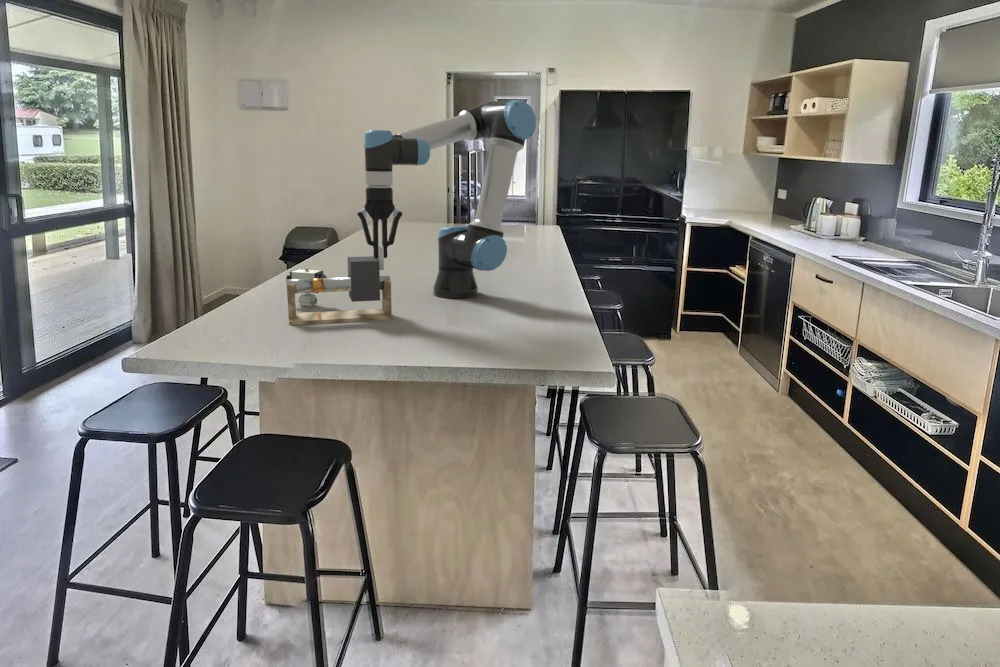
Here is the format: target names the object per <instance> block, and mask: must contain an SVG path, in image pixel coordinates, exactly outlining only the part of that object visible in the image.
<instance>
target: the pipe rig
mask: <svg viewBox="0 0 1000 667" xmlns="http://www.w3.org/2000/svg"><path fill="white" fill-rule="evenodd" d="M286 282H287V281H286ZM286 293H287V294H286V295H287V298H286V299H287V312H288V313H287V316H288V325H289V326H296V325H297V326H299V325H300V326H301V325H315V324H318V325H319V324H333V323H334V324H337V323H353V322H371V321H373V322H374V321H388V320H390V321H392V320H394V316H393V314H392V312H393V310H392V280H391V279H390V280H384V289H383V290H381V307H382V308H370V309H353V310H334V311H333V310H331V311H312V312H311V311H309V312H297V309H296V307H297V306H296V293H295V287H294V284H287V283H286Z"/></svg>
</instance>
